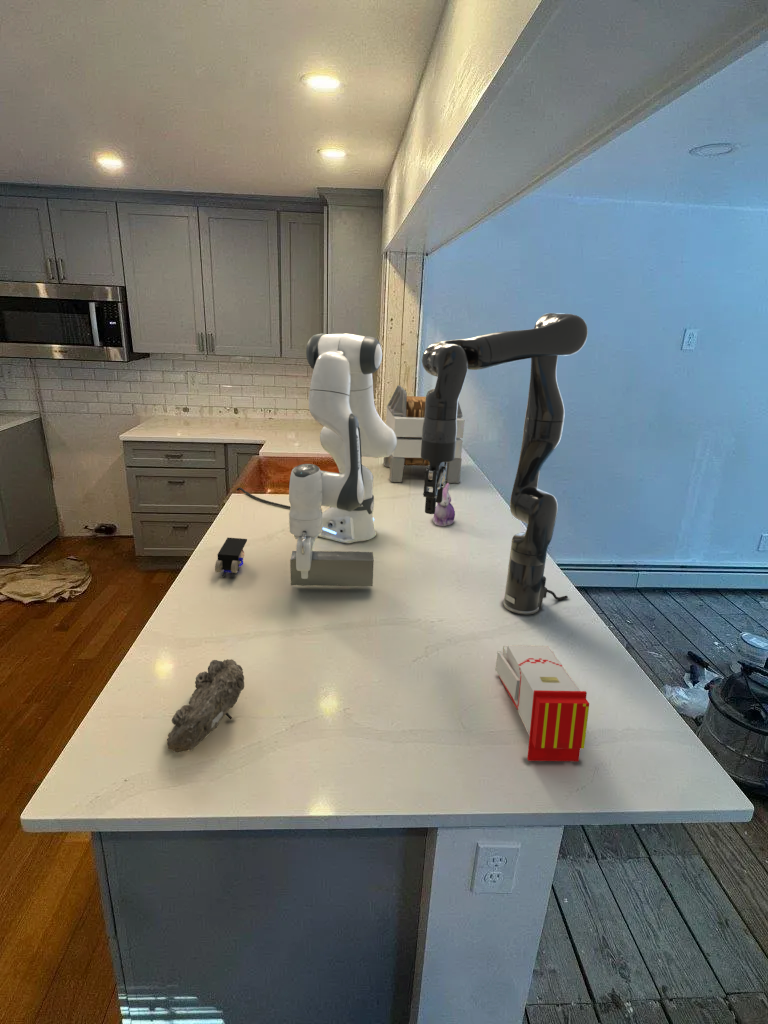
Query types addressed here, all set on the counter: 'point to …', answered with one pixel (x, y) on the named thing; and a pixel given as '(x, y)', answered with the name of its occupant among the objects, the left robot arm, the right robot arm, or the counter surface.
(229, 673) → the fossil
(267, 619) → the counter surface
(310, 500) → the left robot arm
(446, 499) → the figurine
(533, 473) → the right robot arm
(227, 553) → the figurine character
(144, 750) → the counter surface
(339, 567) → the bar
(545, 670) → the toy
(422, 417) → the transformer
